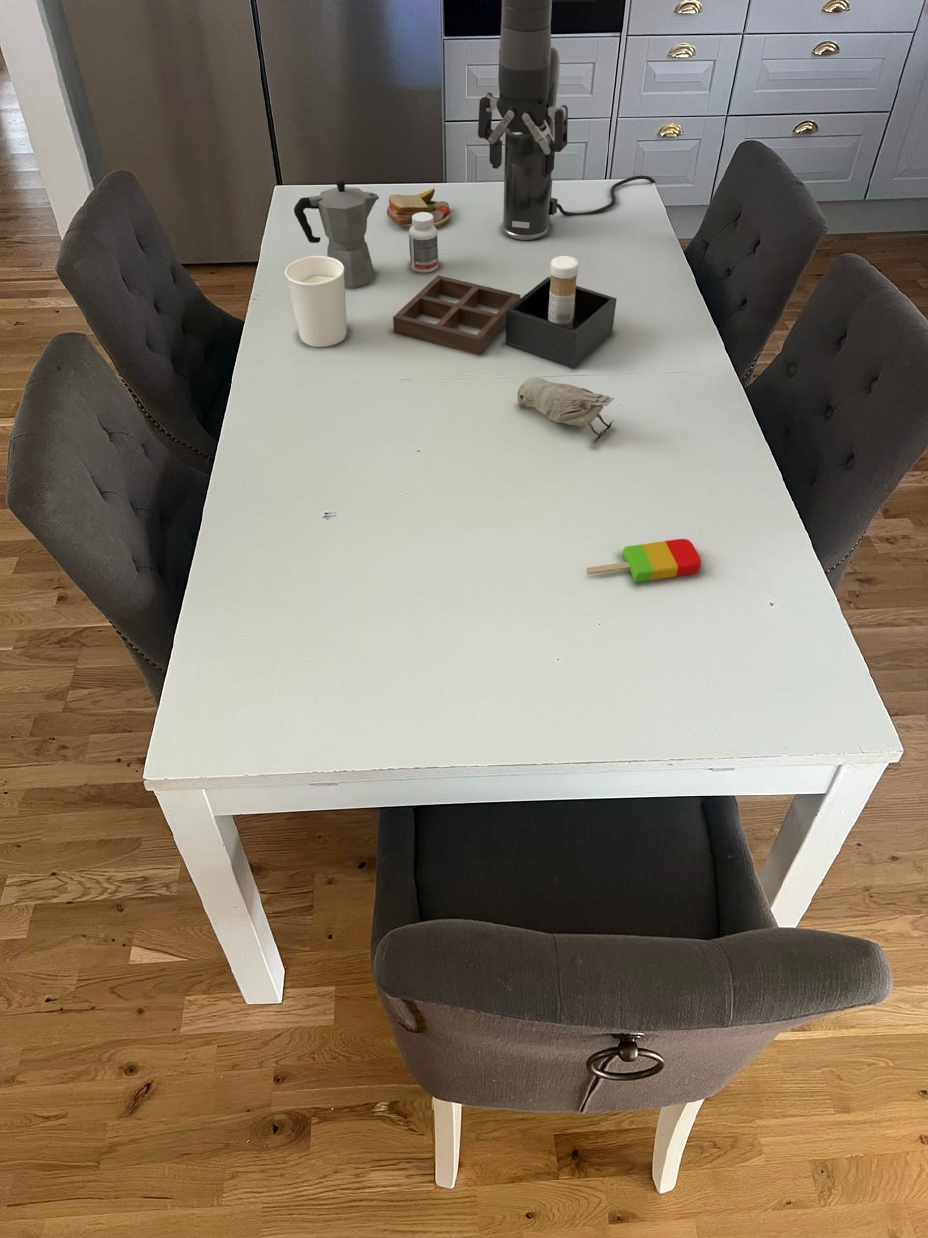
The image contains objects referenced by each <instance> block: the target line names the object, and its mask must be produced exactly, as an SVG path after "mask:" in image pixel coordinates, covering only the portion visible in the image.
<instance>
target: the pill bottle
mask: <svg viewBox="0 0 928 1238" xmlns="http://www.w3.org/2000/svg"><path fill="white" fill-rule="evenodd" d="M433 223H434V221H433V215H432V214H430V213H427V212H420V213H416V214H414V215H413V216H412V225H413V226H412V227H411V228H410V229H409V230H408V243H409V260H410V261H409V262H410V268H411V269H412V270H413V271H414V272H418V273H426V274H427V273H432V272H434V271H435V270H436V269H437V268H438V267H439V247H438V246H439V245H438V244H439V243H438V239H439V238H438V230H437V228H435V227H434V226H433Z"/></svg>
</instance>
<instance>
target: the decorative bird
mask: <svg viewBox="0 0 928 1238" xmlns="http://www.w3.org/2000/svg"><path fill="white" fill-rule="evenodd" d="M614 400H615V397H610V396H609V395H604V394H602V393H597V392H596V393H595V392H593V391H591V390H589V389H587V388H584V387H579V386H575V385H572V384H569V383H559V382H553V381H549V380H546V379H544V378H540V377H530V378H529V377H528V378H527V379H525V380H524V381H523V382H522V383H521V385H520V386H519V389H518V391H517V403H518V406H519V407H520V408H521V407H527V406H531V407H535V408H536V410H537V411H539V413H541V414H543V415H544V416H545V417H546V418H547V419H548V420H549V421H550V422H552V423H555V424H559V423H561V424H564V425H570V426H577V427H585V426H587V427H589V428H590V429H591V431H592V432H593V433H594V434H595V435H596V436H597V437H596V438H595V439H594V441H593V444H595V443H597V442H598V440H600V439H601V437H602V436H603V435H604V434H606V432H607V431H608V430H610V428H611V427H612V424H613V423H614V421H615V420H612V421H610V422H609V424H608V423H606V422H605V421H604V419H603V417H602V415H601V414H600V413H601V412H602V410H603V409H604V407H608V405H609V404H610V403H611V402H613V401H614ZM596 418H598V419H599V420H600V422H601V423H602V424H603V425H604V426H605V427H606V428H605V429H603V430H601V432H600V433H599V432H597V431H596V430H595V429H594V426H593V425H592V422H593V421H595V419H596Z"/></svg>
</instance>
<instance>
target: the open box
mask: <svg viewBox="0 0 928 1238" xmlns="http://www.w3.org/2000/svg"><path fill="white" fill-rule="evenodd" d="M550 285H551V276H547V277H546V278H545V279H543V280H542V281H540V282H539V283H538V284H537V285H536V286H534V287H533V288H532V289H531V290H529V291H528V292H526V293H525V294H524V295H523V296H521V298H520V299H519V300H518V301H517V302H515V303H514V304H513V305H511V306H510V307H509V308H508V309H507V310H506V326H505V343H504V345H506V346H508V347H511V348H514V349H517V350H520V351H521V352H522V351H523V352H525V353H528V354H530V355H533V356H536V357H540V358H542V359H545V360H548V361H551V362H553V363H556V364H558V365H562V366H564V367H567V368H570V369H572V370H573V369H575V368H576V367H577V366H578V365H580V364H581V363H582V362H583V360H585V359H586V358H587V357H588V356H589V355H591V353H592V352H594V351H595V350H596V349H597V348H598V347H599V346H601V344H603V342H605V341H606V340H607V339H609V337H610V336H611V335H612V334H613V331H614V323H615V315H616V306H617V300H618V298H616V297H613V296H611V295H607V294H604V293H601V292H598V291H594V290H592V289H588V288H585V287H582V286H579V285H576V292H575V310H574V318H573V328H572V329H571V328H568V327H565V326H562V325H559V324H556V323H553V322H550V321H548V312H549V296H550Z"/></svg>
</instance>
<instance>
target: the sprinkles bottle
mask: <svg viewBox="0 0 928 1238" xmlns="http://www.w3.org/2000/svg"><path fill="white" fill-rule="evenodd" d="M579 265H580V264H579V260H578V259H577V258H575V257H573V256H570V255H569V256H568V255H559V256H556V257H554V258H553V259H551V261H550V266H549V273H550V277H551V285H550V296H549V312H548V321H550V322H553V323H556V324H559V325H562V326H565V327H568V328H571V329H572V328H573V318H574V310H575V292H576V286H577V277H578V274H579Z"/></svg>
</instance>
